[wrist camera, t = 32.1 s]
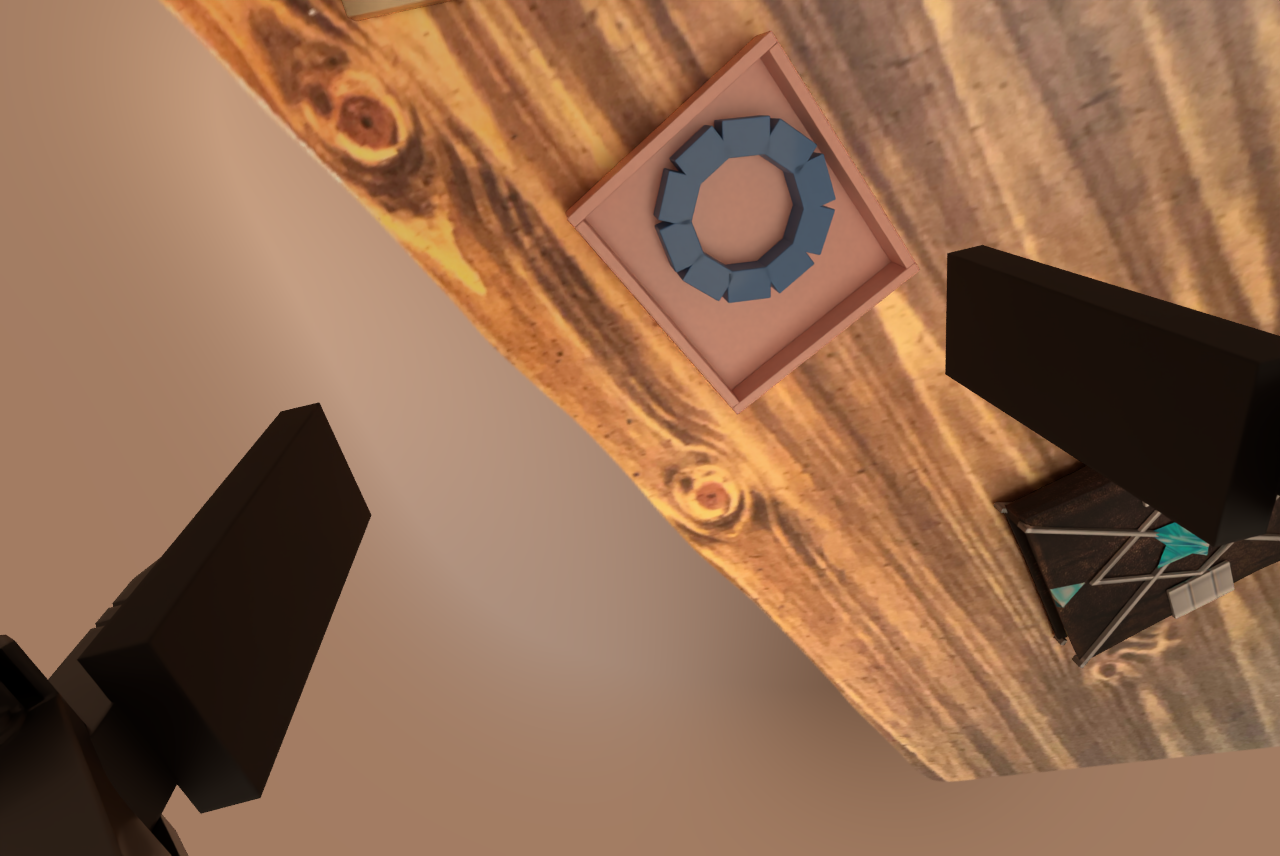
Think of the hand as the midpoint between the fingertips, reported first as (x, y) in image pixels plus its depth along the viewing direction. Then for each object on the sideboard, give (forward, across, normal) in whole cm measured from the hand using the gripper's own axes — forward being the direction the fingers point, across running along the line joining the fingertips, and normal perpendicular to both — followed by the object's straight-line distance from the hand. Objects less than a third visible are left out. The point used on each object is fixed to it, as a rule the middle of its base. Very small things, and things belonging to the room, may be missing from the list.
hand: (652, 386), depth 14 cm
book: (+25, +38, -30) cm, 54 cm away
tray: (+25, +9, -3) cm, 27 cm away
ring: (+25, +9, -2) cm, 26 cm away
